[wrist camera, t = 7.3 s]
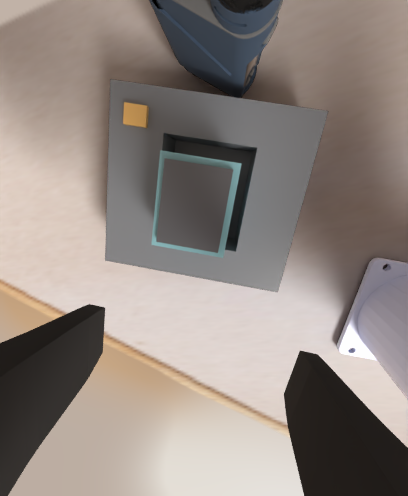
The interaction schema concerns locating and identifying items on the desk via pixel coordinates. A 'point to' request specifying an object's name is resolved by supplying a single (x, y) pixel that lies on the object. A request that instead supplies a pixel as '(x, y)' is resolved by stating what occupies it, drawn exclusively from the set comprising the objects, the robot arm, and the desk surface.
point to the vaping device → (219, 37)
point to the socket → (215, 147)
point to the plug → (194, 203)
